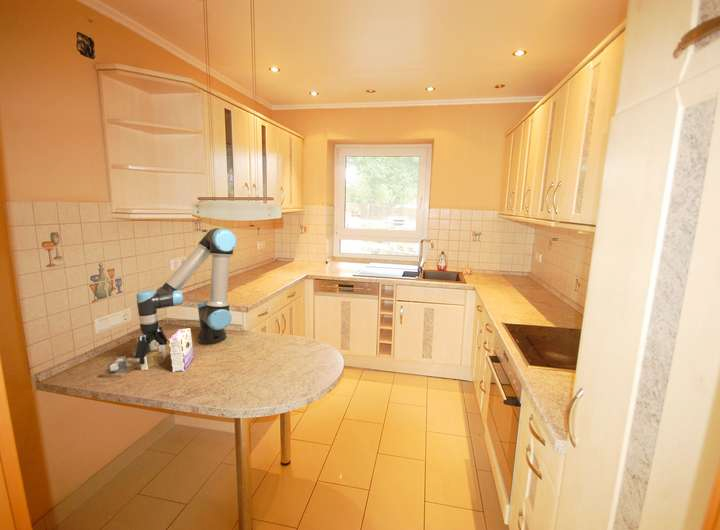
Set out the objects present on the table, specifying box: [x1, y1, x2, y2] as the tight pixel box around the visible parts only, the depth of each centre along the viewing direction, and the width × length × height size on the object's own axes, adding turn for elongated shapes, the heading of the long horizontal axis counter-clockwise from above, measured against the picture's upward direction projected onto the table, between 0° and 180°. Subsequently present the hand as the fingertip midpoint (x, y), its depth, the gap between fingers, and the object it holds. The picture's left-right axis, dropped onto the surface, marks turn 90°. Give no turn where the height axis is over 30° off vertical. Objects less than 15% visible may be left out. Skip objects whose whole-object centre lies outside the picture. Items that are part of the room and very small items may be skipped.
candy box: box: [168, 327, 195, 373], centre depth 163 cm, size 14×6×16 cm, turn 9°
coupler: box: [145, 351, 165, 367], centre depth 167 cm, size 6×5×5 cm
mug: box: [136, 331, 160, 351], centre depth 185 cm, size 8×13×10 cm, turn 89°
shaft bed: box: [97, 346, 159, 378], centre depth 167 cm, size 26×11×6 cm, turn 177°
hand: (154, 363), depth 167 cm, fingers open, 13 cm apart
